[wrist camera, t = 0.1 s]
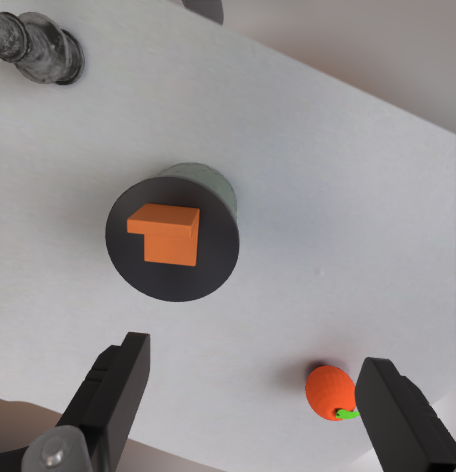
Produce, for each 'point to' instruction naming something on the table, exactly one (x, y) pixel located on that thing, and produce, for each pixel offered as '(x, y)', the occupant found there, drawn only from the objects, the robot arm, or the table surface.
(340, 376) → the clementine
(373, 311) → the table surface
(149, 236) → the lid slider
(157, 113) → the table surface
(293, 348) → the table surface
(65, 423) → the robot arm
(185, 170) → the green lidded canister
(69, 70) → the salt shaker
